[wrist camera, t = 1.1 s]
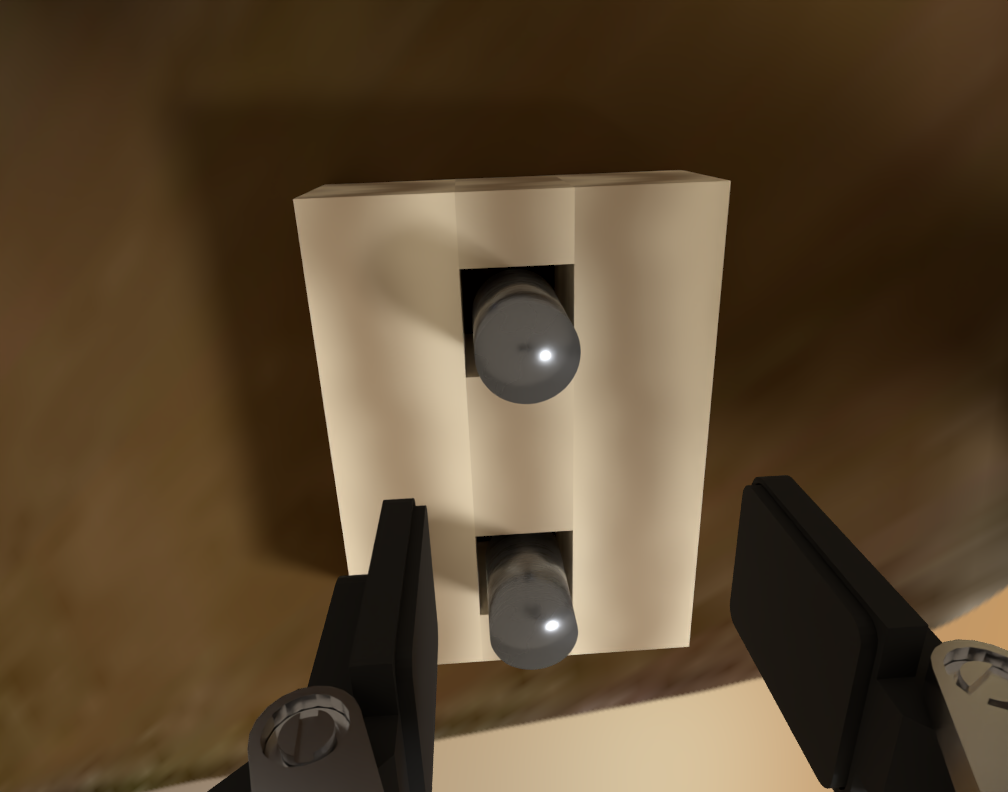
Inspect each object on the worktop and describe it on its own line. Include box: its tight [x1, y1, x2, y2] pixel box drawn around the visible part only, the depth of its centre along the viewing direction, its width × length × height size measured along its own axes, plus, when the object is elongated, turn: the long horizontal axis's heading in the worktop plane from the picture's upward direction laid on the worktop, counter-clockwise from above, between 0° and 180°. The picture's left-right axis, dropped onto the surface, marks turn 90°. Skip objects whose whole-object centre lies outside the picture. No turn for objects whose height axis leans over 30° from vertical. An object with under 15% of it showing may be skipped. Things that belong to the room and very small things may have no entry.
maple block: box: [293, 170, 731, 664], centre depth 31 cm, size 16×22×6 cm
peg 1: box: [472, 269, 581, 404], centre depth 25 cm, size 4×4×6 cm
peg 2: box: [485, 532, 578, 669], centre depth 30 cm, size 4×4×6 cm
